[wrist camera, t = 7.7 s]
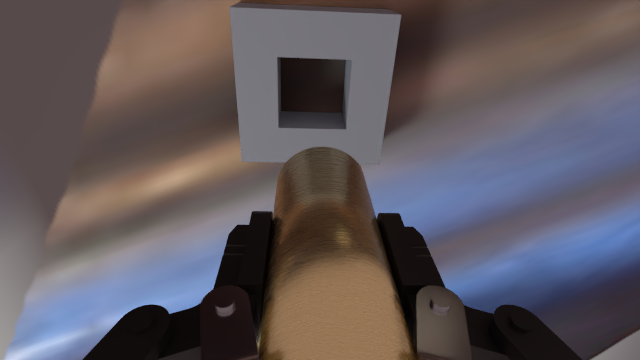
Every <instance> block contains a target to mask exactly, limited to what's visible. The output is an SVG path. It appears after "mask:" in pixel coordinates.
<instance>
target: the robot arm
mask: <svg viewBox="0 0 640 360" xmlns="http://www.w3.org/2000/svg"><path fill="white" fill-rule="evenodd" d="M377 222H378V226H379V229H380V233H381V236H382V240H383V243H384V246H385V250H386V253H387V257H388V260H389V264H390V267H391V271H392V274H393V277H394V281H395V284H396V288H397V291H398V295H399V298H400V301H401V305H402V308H403V312H404V315H405V319H406V322H407V326H408V329H409V332H410V336H411V339H412V343H413V346H414V352H415V357H416V360H582V359H581V358H580V357H579V356H578V355H577V354H576V353H575V352H574V351H573V350H571V349H570V348H569V347H568V346H567V345H566V344H565V343H564V342H563V341H562V340H561V339H560V338H559V337H558V336H557V335H556V334H554V333H553V332H552V331H551V330H550V329H549V328H548V327H547V326H546V325H545V324H544V323H543V322H542V321H541V320H540V319H539V318H537V317H536V316H535V315H534V314H532V313H531V312H529V311H528V310H526V309H524V308H521V307H518V306H515V305H502V306H500V307H498V308H497V309H496V310H495V312H494V314H491V313H487V312H484V311H480V310H476V309H473V308H469V307H467V306H465V305H463V303H462V301H461V300H460V298H459V297H458V296H457V295H456V294H455V293H453V292H452V291H450V290H448V289H446V288H445V286H444V283H443V281H442V279H441V277H440V274H439V272H438V270H437V268H436V265H435V263H434V261H433V259H432V257H431V254H430V252H429V250H428V248H427V245H426V243H425V241H424V238H423V236H422V235H421V234H420V233H419V232H418V231H417V230H416V229H415V228H414V227H404V224H403V221H402V219H401V216H400V214H399V213H379V214H378V217H377ZM272 223H273V213H272V212H268V211H253V212H252V215H251V219H250V224H249V225H237V226H236V227H235V228H234V229H233V230H232V231H231V232H230V234H229V236H228V240H227V243H226V247H225V250H224V255H223V257H222V261H221V264H220V268H219V271H218V275H217V278H216V282H215V285H214V288H213V290H212V291H210V292H209V293H208V294H207V295H206V296H205V297H204V298H203V300H202V302H201V303H200V304H199V305H197V306H195V307H193V308H190V309H186V310H183V311H179V312H175V313H172V314H169V313H168V311H167V310H166V309H165V308H164V307H162V306H159V305H144V306H141V307H138V308H135V309H133V310H132V311H130V312H128V313H127V314H126V315H124V316H123V317H122V318H121V319H120V320H119V321H118V322H117V323H116V324H115V326H114V327H113V328H112V329H111V330H110V331H109V332H108V333H107V334H106V335H105V336H104V337H103V338H102V339H101V341H100V342H99V343H98V344H97V345H96V346H95V347H94V348H93V349H92V350H91V351H90V352H89V353H88V354H87V355H86V357H85V358H84V359H83V360H261V359H260V357H259V354H258V348H257V342H256V341H257V336H258V329H259V321H260V313H261V306H262V301H263V294H264V286H265V278H266V270H267V262H268V255H269V247H270V239H271V231H272Z"/></svg>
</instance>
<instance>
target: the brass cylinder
mask: <svg viewBox="0 0 640 360" xmlns="http://www.w3.org/2000/svg"><path fill="white" fill-rule="evenodd" d="M257 348H258V354H259V357H260V359H261V360H416V357H415V352H414V346H413V343H412V339H411V336H410V332H409V329H408V326H407V322H406V319H405V315H404V312H403V308H402V305H401V301H400V298H399V295H398V291H397V288H396V284H395V281H394V277H393V274H392V271H391V267H390V264H389V260H388V257H387V253H386V250H385V246H384V243H383V240H382V236H381V233H380V229H379V226H378V222H377V219H376V215H375V212H374V209H373V205H372V202H371V198H370V195H369V191H368V188H367V185H366V181H365V178H364V174H363V171H362V169H361V167H360V165H359V164H358V163H357V161H356V160H355V159H354V158H353V157H351V156H350V155H349V154H347V153H346V152H344V151H342V150H339V149H336V148H332V147H312V148H308V149H305V150H303V151H300V152H298V153H297V154H295V155H294V156H292V157H291V158H290V159H289V160H288V161H287V162H286V163H285V164H284V166H283V167H282V169H281V171H280V173H279V176H278V181H277V188H276V196H275V204H274V212H273V223H272V231H271V239H270V247H269V255H268V262H267V270H266V278H265V286H264V294H263V301H262V306H261V313H260V321H259V329H258V337H257Z"/></svg>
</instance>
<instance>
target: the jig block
mask: <svg viewBox="0 0 640 360" xmlns="http://www.w3.org/2000/svg"><path fill="white" fill-rule="evenodd" d="M230 20H231V32H232V45H233V57H234V70H235V82H236V95H237V108H238V120H239V133H240V145H241V158H242V162H287V161H288V160H289V159H290V158H291V157H292V156H294V155H295V154H297V153H298V152H300V151H303V150H305V149H308V148H312V147H332V148H336V149H339V150H342V151H344V152H346V153H347V154H349V155H350V156H351V157H353V158H354V159H355V160H356V161H357V163H358V164H379V163H380V157H381V150H382V143H383V136H384V129H385V123H386V116H387V109H388V102H389V95H390V89H391V82H392V75H393V68H394V61H395V55H396V48H397V41H398V34H399V27H400V21H401V14H399V13H396V12H394V11H392V10H390V9H371V8H349V7H326V6H304V5H282V4H259V3H237V4H235V5H233V6H231V7H230ZM280 57H288V58H315V59H342V60H346V66H345V78H344V91H343V104H342V113H331V112H296V111H281V62H280Z"/></svg>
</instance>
